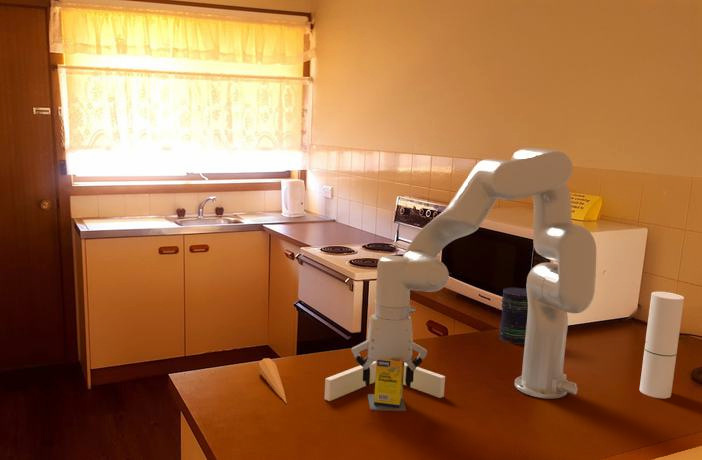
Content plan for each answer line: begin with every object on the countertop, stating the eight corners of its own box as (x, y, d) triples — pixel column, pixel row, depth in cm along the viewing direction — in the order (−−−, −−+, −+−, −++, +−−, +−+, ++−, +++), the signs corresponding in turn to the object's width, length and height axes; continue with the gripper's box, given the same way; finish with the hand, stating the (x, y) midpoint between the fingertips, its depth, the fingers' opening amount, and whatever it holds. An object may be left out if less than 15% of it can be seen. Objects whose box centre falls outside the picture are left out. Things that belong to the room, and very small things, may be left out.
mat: (401, 396, 151) (401, 394, 151) (406, 411, 143) (406, 409, 143) (367, 395, 151) (367, 394, 151) (370, 410, 143) (370, 409, 143)
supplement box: (399, 408, 144) (402, 362, 142) (373, 405, 145) (376, 359, 143) (402, 397, 149) (405, 353, 148) (377, 394, 150) (379, 350, 149)
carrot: (259, 374, 162) (254, 360, 160) (276, 367, 163) (270, 352, 161) (280, 416, 144) (274, 400, 142) (299, 407, 145) (293, 391, 143)
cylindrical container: (668, 389, 163) (681, 293, 159) (672, 400, 156) (686, 300, 152) (638, 384, 165) (650, 290, 161) (640, 395, 158) (653, 296, 154)
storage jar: (497, 332, 203) (501, 286, 200) (529, 335, 201) (533, 288, 199) (500, 342, 193) (504, 294, 191) (533, 345, 192) (538, 297, 189)
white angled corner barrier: (443, 396, 152) (445, 376, 151) (385, 425, 136) (387, 403, 135) (384, 374, 164) (385, 355, 163) (324, 399, 147) (325, 378, 147)
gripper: (427, 307, 148) (422, 378, 150) (352, 305, 147) (348, 377, 149) (433, 317, 140) (428, 392, 143) (354, 315, 139) (350, 390, 142)
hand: (387, 384), depth 146 cm, fingers open, 9 cm apart
